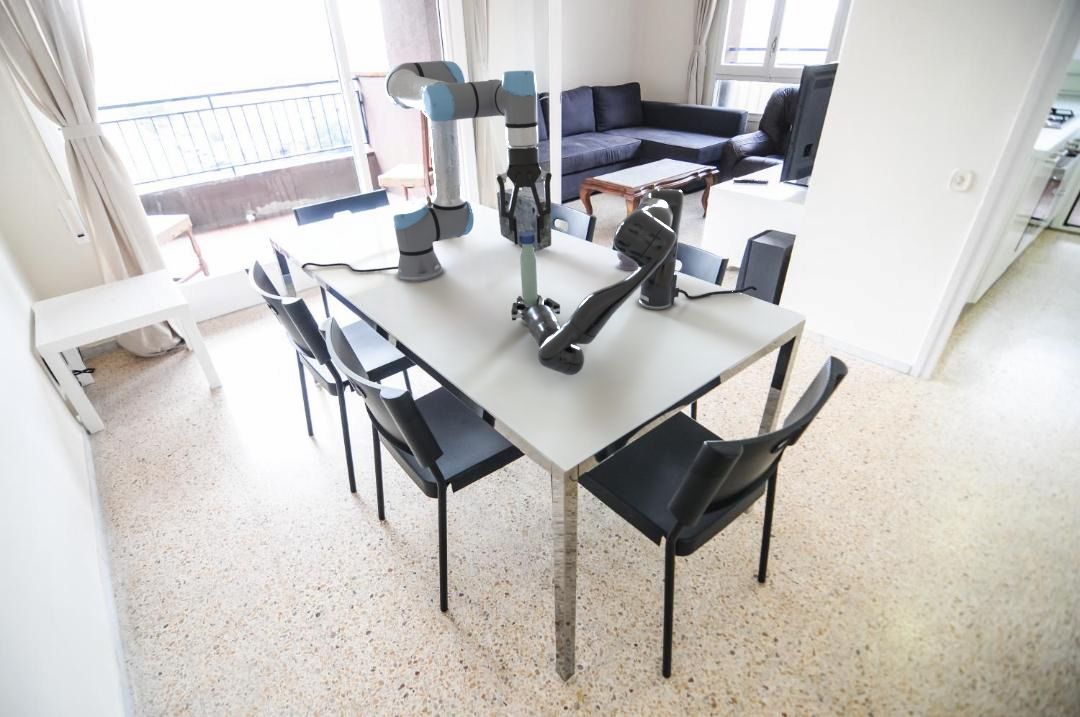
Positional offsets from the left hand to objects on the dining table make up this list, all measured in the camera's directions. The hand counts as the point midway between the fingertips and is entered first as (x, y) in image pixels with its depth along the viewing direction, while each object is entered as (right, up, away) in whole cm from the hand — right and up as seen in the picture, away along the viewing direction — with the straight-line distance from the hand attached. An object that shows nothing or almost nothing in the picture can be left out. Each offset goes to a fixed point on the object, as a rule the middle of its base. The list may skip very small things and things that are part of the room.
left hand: (527, 241), depth 129 cm
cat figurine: (+35, +2, +45) cm, 57 cm away
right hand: (0, -13, +11) cm, 17 cm away
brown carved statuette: (-40, +25, +88) cm, 100 cm away
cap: (0, +1, -1) cm, 2 cm away
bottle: (+1, -20, +12) cm, 24 cm away
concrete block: (-2, +14, +68) cm, 69 cm away
